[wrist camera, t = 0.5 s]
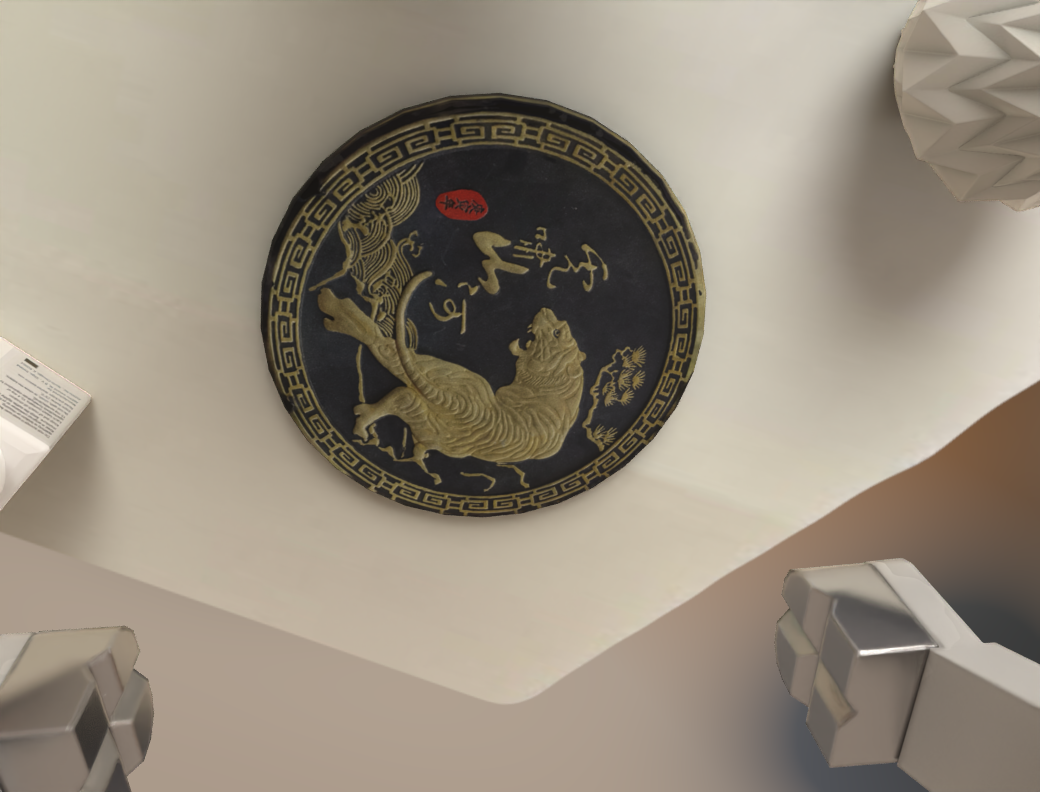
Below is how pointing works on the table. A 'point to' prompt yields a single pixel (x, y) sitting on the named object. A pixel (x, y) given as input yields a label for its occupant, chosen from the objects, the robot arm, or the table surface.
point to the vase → (974, 96)
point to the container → (31, 414)
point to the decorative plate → (483, 305)
